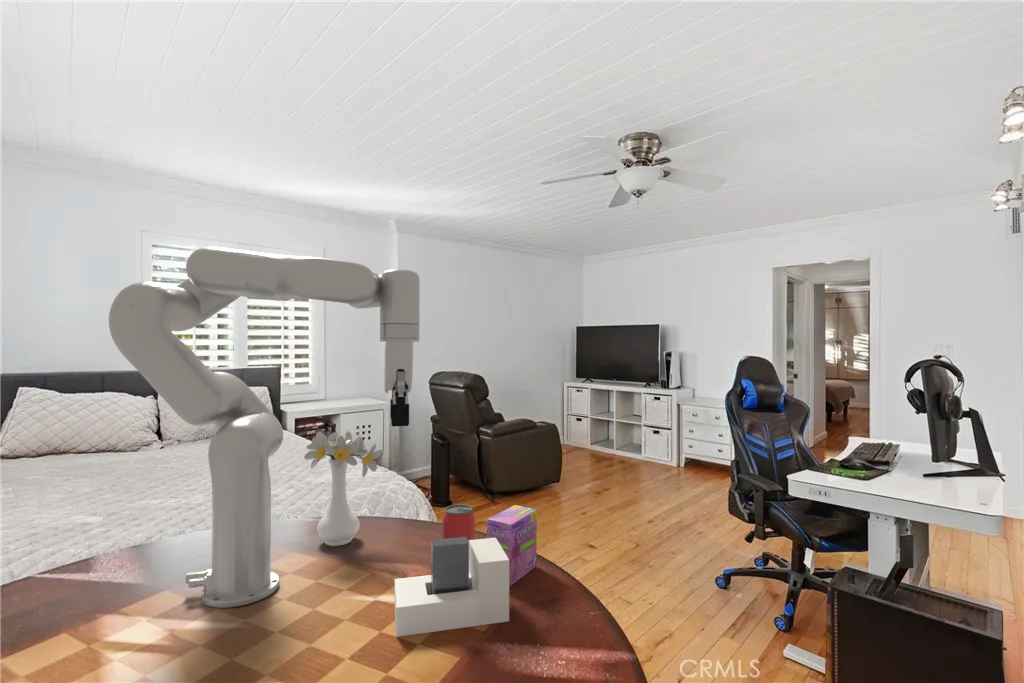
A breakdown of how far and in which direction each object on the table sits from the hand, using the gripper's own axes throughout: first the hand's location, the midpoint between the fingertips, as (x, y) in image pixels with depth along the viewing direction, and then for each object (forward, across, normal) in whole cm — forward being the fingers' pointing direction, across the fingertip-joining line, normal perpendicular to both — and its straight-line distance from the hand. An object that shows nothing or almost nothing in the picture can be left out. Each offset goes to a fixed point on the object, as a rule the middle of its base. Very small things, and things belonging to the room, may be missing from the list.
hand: (399, 422), depth 98 cm
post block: (+30, +15, +8) cm, 35 cm away
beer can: (+31, -2, +12) cm, 33 cm away
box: (+31, +3, +22) cm, 38 cm away
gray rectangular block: (+30, +15, +8) cm, 35 cm away
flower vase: (+31, -23, -12) cm, 40 cm away
